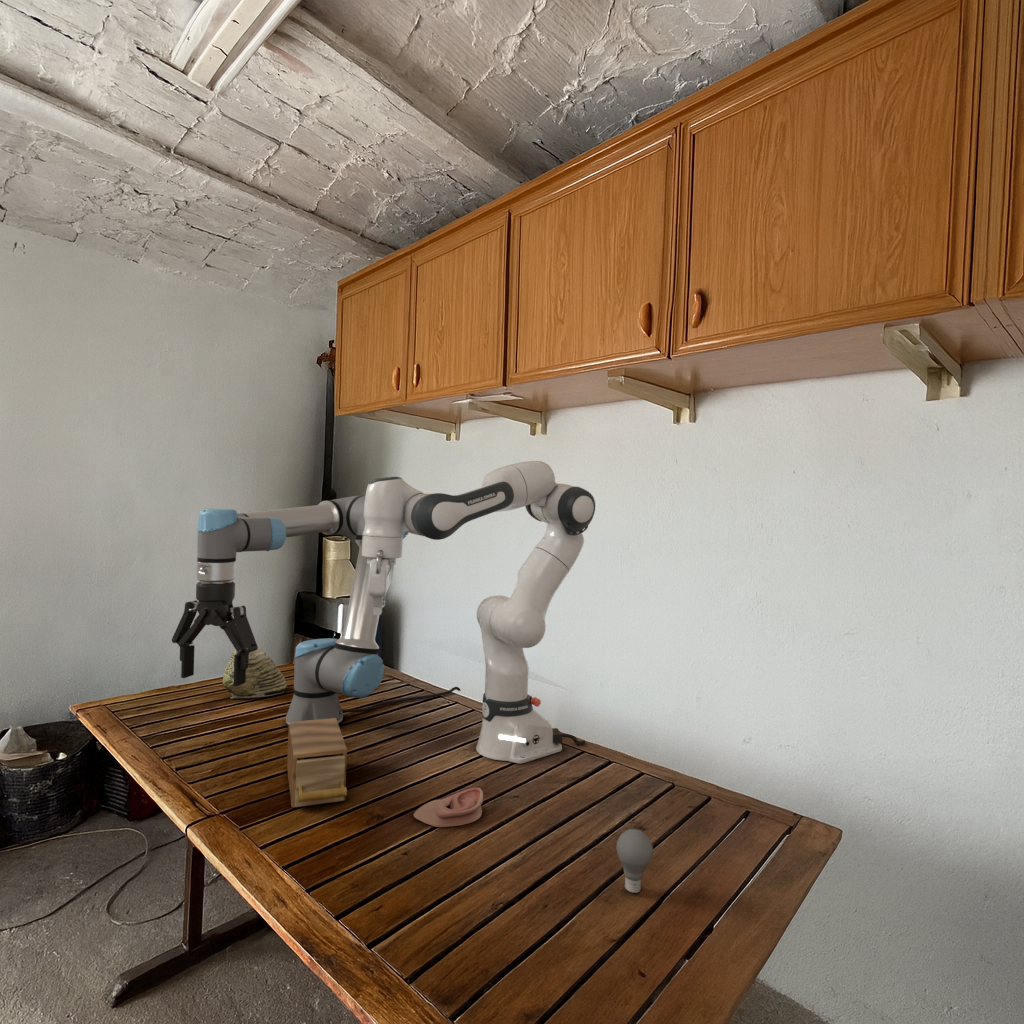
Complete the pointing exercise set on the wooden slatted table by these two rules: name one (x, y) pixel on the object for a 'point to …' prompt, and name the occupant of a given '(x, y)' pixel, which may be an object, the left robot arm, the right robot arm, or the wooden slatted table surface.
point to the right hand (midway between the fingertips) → (379, 610)
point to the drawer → (320, 780)
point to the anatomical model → (452, 809)
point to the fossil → (255, 677)
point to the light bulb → (634, 857)
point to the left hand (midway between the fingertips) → (213, 680)
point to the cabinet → (312, 745)
